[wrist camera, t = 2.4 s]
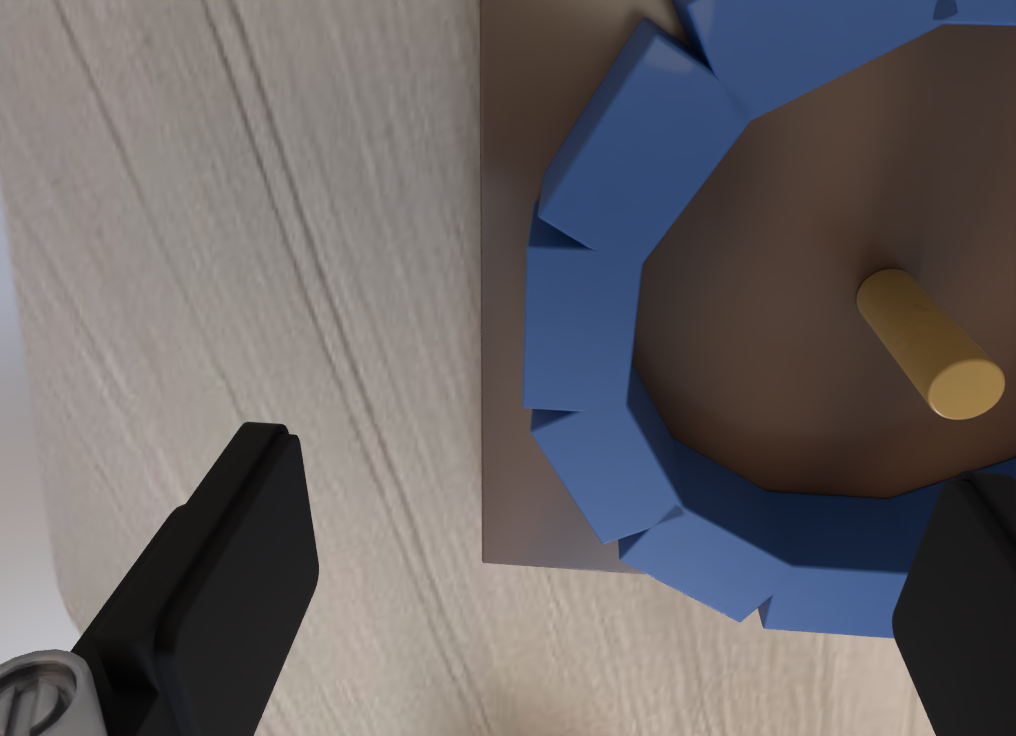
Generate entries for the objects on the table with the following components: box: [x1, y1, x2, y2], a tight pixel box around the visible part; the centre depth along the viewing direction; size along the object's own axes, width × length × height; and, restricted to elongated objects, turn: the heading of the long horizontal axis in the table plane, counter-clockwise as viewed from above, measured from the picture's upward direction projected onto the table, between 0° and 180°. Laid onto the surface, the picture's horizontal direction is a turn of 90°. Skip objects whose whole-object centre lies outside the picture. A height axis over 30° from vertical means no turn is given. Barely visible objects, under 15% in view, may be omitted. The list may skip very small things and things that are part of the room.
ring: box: [522, 0, 1016, 638], centre depth 17 cm, size 17×17×3 cm
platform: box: [480, 0, 1016, 574], centre depth 17 cm, size 20×20×6 cm
